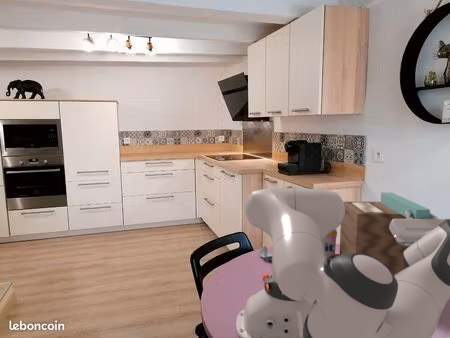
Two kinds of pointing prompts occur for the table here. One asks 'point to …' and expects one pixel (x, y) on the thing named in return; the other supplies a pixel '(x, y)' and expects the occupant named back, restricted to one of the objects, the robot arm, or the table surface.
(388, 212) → the stand
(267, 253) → the pacifier
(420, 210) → the beam
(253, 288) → the table surface
